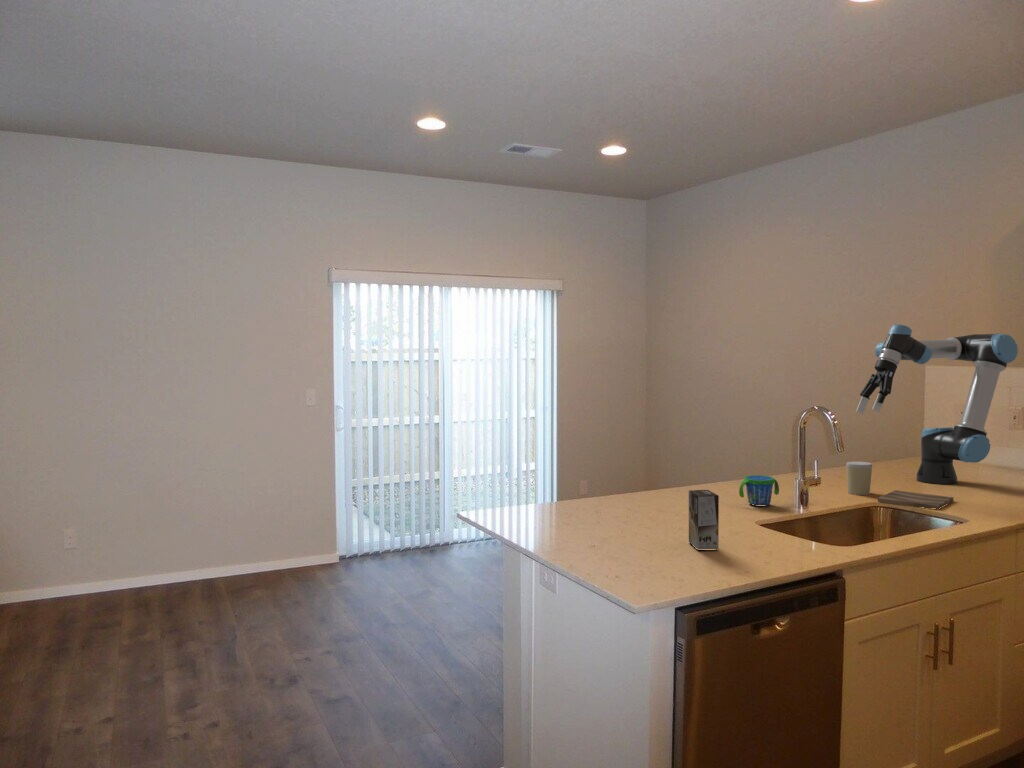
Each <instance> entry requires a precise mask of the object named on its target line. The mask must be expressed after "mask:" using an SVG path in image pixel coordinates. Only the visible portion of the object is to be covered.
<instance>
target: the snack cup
mask: <svg viewBox="0 0 1024 768" xmlns="http://www.w3.org/2000/svg"><path fill="white" fill-rule="evenodd" d="M779 486H780V485H779V482H778V480H776V479H775V478H774V476H769V475H762V474H761V475H759V474H755V475H754V474H753V475H746V476H745V477H744V478H743V480H742V481H741V483H740V486H739V490H738V493H739V497H740V498H744V497H745V494H744V487H745V488H746V496H747V497H746V498H747V501H748V502H747V503H748V504H749V503H750V504H754V505H769V504H770V505H771V501H772V496H773V494H772V493H774V495H776V496H777V495H779V493H780V487H779ZM773 490H774V491H773ZM750 504H749V505H750ZM770 505H769V506H770Z"/></svg>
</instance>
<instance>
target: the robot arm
mask: <svg viewBox="0 0 1024 768" xmlns="http://www.w3.org/2000/svg"><path fill="white" fill-rule="evenodd" d="M912 332H913V330H912V329H911V327H909V326H907V325H904V324H900V323H899V324H893V325H892V326H891V327H890V329H889V331H888V333H887V336H886V338H885V341H881V342H879V343H877V345H876V346H875V348H874V351H875V352H874V354H875V357H876V358H878V359H877V360H876V362H875V365H874V369H875V371H876V373H875V374H874V373H872V374H871V375H870V378H869V380H868V381H867V383H866V384H865V386H864V388H863V389H862V390H861V392H860V394H859V396H861V397H860V400H859V403H858V405H857V408H856V409H855V412H857V413H859V414H862V415H863V414H864V412H865V410H866V408H867V405H868V402H869V400H870V396H871V395H872V394H873V393H874V392H875V390H877V388H879V391H878V392H877V393H878V394H877V396H876V399H875V401H874V402H873V403H874V404H873V405H872V408H871V410H872V411H874V412H877V413H881V412H880V411H882V410H881V409H882V407H883V405H884V402H885V400H886V397H887V396H888V395H891V393H892V386H893V382H894V381H893V380H894V376H895V373H896V371H897V369H898V365H899V364H900V362H901V361H912V362H913V363H915V364H918V365H925V364H927V363H928V362H929V361H930V360H931V359H947V360H950V361H955V360H956V361H965V362H966V361H967V362H972V364H973V366H974V367H975V369H974V373H973V377H972V380H971V382H970V386H969V390H968V393H967V396H966V401H965V403H964V407H963V410H962V413H961V416H960V417H961V418H960V421H959V423H957V424H955V425H954V426H953V427H951V426H950V427H926V428H924V429H923V430H922V433H921V437H920V439H921V440H920V441H921V447H920V449H921V457H920V460H921V461H920V465H919V468H918V470H917V473H916V481H918V482H921V483H926V484H927V483H928V484H934V483H935V485H954V484H957V483H958V475H957V473H956V469H955V466H954V461H960V462H964V463H971V464H972V463H974V464H975V463H980V462H981V461H983V460H985V459H986V458H987V457H988V455H989V454H990V450H991V443H990V439H989V438H988V437H987V435H988V432H987V431H986V429H985V425H986V421H987V418H988V415H989V411H990V408H991V404H992V403H993V399H994V394H995V390H996V388H997V385H998V381H999V377H1000V373H1001V372H1003V371H1005V370H1006V368H1007V365H1008V364H1010V363H1013V361H1015V360H1016V358H1017V357H1018V351H1019V348H1018V345H1017V342H1016V340H1015V339H1014V338H1013V337H1012V336H1011V335H1009V334H1007V333H985V334H983V333H980V334H978V333H977V334H976V333H975V334H968V335H962V336H953V337H947V338H946V339H934V340H933V339H930V340H917V339H915V338H914V337H913V336H912Z"/></svg>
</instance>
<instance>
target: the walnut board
mask: <svg viewBox="0 0 1024 768" xmlns="http://www.w3.org/2000/svg"><path fill="white" fill-rule="evenodd" d="M954 500H955V499H954V496H946V495H937V494H931V493H930V494H928V493H921V492H913V491H905V490H899V489H898V490H892V491H891V492H888V493H887V494H884V495H881V496H879V497H877V502H878V503H884V504H890V505H897V506H898V505H899V506H904V507H912V506H913V508H919V507H924V508H923V509H926V508H936V509H939V508H940V507H942V506H944V505H946V504H948V503H950V502H951V503H953V502H954ZM952 501H953V502H952ZM951 503H950V504H951ZM948 505H949V504H948ZM946 506H947V505H946ZM944 507H945V506H944ZM939 510H940V509H939Z"/></svg>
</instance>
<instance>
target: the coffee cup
mask: <svg viewBox="0 0 1024 768" xmlns="http://www.w3.org/2000/svg"><path fill="white" fill-rule="evenodd" d="M845 465H846V466H845V467H846V480H847V481H846V482H847V483H846V484H847V493H848V494H849V493H850V495H854V494H856V495H855V496H869V495H870V492H871V484H872V483H871V482H872V471H873V470H872V469H873V465H872V463H871V462H867V461H847V462H846V464H845Z"/></svg>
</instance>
